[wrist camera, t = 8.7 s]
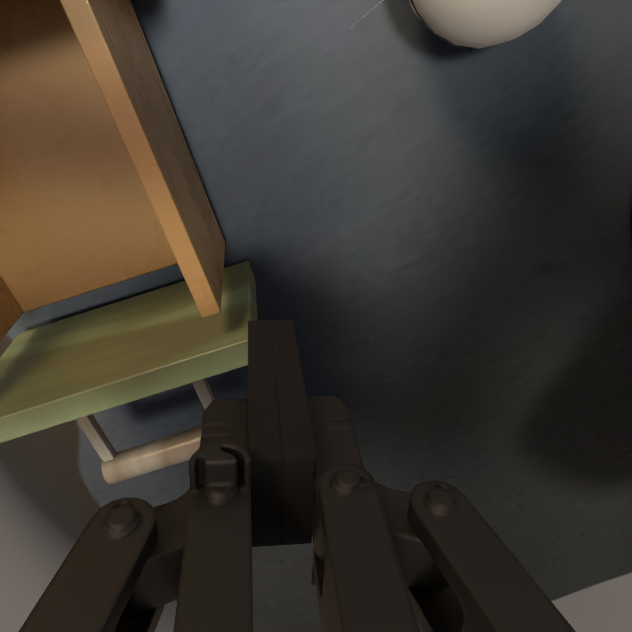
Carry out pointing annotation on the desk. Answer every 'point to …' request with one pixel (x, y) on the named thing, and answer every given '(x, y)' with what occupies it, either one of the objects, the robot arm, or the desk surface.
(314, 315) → the desk surface
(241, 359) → the drawer
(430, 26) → the cream egg
